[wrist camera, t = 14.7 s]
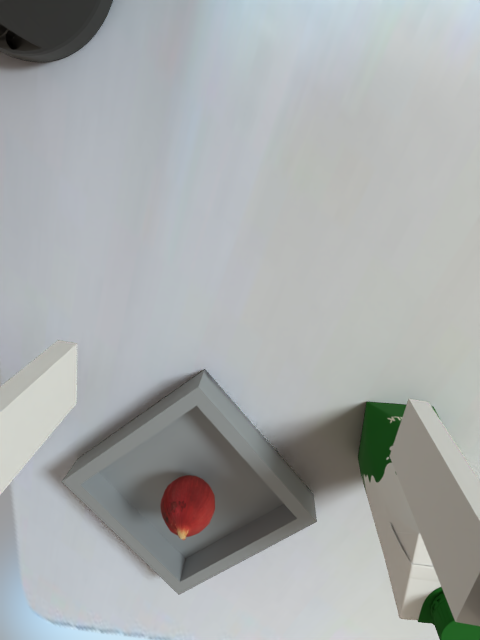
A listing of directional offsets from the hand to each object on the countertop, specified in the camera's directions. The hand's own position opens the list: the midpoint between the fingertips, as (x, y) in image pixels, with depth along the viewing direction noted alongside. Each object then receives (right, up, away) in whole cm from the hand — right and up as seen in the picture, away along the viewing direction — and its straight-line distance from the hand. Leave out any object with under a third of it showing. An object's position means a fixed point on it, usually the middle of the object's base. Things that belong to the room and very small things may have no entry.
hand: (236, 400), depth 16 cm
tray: (-5, -15, +33) cm, 37 cm away
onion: (-5, -16, +32) cm, 36 cm away
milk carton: (+17, -9, +29) cm, 35 cm away
